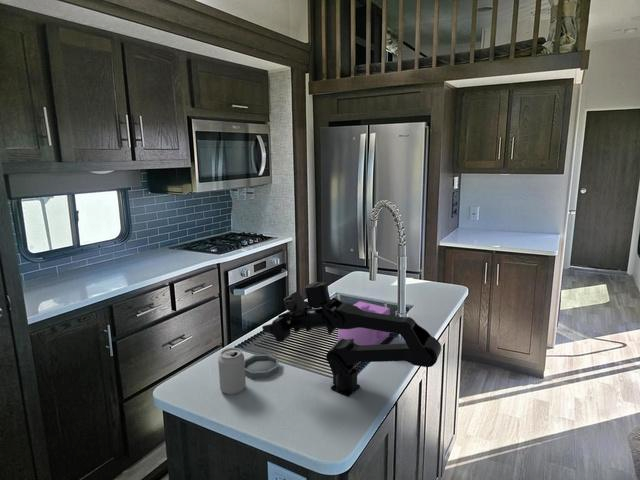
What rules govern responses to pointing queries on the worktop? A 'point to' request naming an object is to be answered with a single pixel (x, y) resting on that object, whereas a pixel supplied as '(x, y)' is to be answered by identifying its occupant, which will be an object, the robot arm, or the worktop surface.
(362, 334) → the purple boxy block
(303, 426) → the worktop surface
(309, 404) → the worktop surface
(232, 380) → the can
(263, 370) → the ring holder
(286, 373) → the worktop surface
